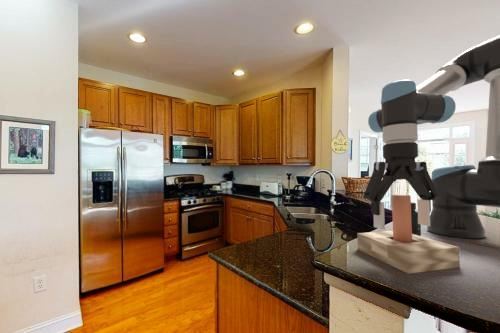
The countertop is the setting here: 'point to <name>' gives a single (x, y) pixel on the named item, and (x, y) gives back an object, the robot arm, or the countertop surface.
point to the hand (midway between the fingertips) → (402, 226)
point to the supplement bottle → (415, 220)
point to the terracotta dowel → (402, 218)
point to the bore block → (409, 252)
